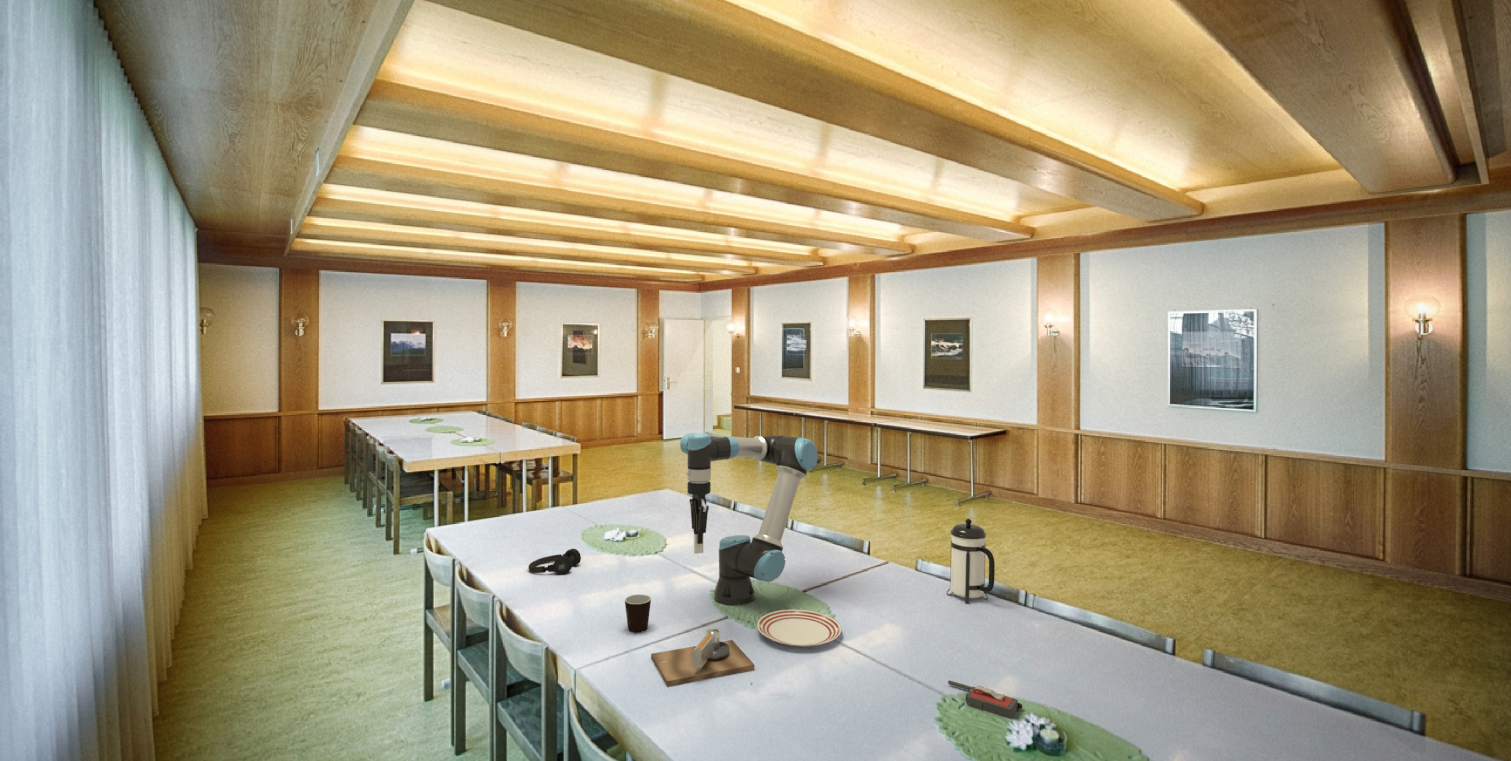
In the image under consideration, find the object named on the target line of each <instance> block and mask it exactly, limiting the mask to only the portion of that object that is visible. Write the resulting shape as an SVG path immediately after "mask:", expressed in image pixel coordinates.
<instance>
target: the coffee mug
mask: <svg viewBox="0 0 1511 761" xmlns="http://www.w3.org/2000/svg"><path fill="white" fill-rule="evenodd" d="M651 602H652V597H651V596H649V595H647V594H633V595H629V596H627V597H625V598H624V605H625V614H626V623H627V631H628V632H630V633H632V634H633V633H634V634H639V633H644V632H646V631H647V630H648V627H649V618H650V610H651V604H652V603H651Z"/></svg>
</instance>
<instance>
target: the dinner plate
mask: <svg viewBox="0 0 1511 761" xmlns="http://www.w3.org/2000/svg"><path fill="white" fill-rule="evenodd" d="M756 628H757V629H758V631H759V633H760V634H762V635H763V636H764V637H765V638H767V639H768V640H770V641H773V642H774V643H775V642H776V643H778V644H781V645H786V646H790V647H796V648H798V647H800V648H804V647H814V646H820V645H824V644H827V643H830V642H833V641H835V640H836V639H838V638H839V637H840V635H841V633H842V627H841V625H840V623H838V621H836V620H835V619H834V618H833V617H831V616H829V615H826V614H823V613H820V612H817V611H811V610H808V609H807V610H804V609H781V610H777V611H772V612H769V613H767V614H765V615H763V616H762V617H760V618H759V620H758V621H757V624H756Z"/></svg>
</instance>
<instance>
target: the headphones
mask: <svg viewBox="0 0 1511 761" xmlns="http://www.w3.org/2000/svg"><path fill="white" fill-rule="evenodd" d="M581 561H582V556H581V553H580V551H579V550H578V549H576V548H571V549H568V550H566V551H565V553H563V554H561V553H560V554H555V555H554V554H553V555H548V556H544V557H541V558H538V559H536V560H534V561H532V562H530V563H529V565H528V570H529V571H528V572H530V574H544V573H546V572H547V573H553V572H554V573H555V574H557V575H559V576H560V575H561V576H562V575H563V576H564V575H566V574H569V572H570V571H571V569H572V568H573V567H576V566H577V565H579V564H581ZM551 562H552V563H553V564H548V565H547V566H546V565H544V564H547V563H551ZM540 565H541V566H540Z"/></svg>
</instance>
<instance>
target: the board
mask: <svg viewBox="0 0 1511 761" xmlns="http://www.w3.org/2000/svg"><path fill="white" fill-rule="evenodd" d="M721 642H724V643H726V644H727V645H728V646H729V655H728V656H727V657H726V658H724V659H721V660H715V661H708V660H707V662H706V663H705V664H704V666H703V667H702V668H696V667H693V650H694V648H695V647H696V646H697V645H694V646H689V647H683V648H677V649H672V650H665V651H660V652H654V653H651V654H650V657H651V658H650V659H651V660H652V662H653V665H655V667H656V670H657V671H658V673H659V675H660V677H661V678H662V680H663V681H664V684H665V685H666V687H672V686H677V685H682V684H688V683H693V682H697V681H703V680H709V679H713V678H718V677H724V676H725V677H726V676H730V675H734V674H739V673H744V672H750V671H754V670H755V663H754V662H753V661H752V660H751V659H750V658H749V657H748V656H747V654H746V653H745V652H744V651H743V650H742V649H741V648H740V647H739V645H738V644H737V643H736V642H735V641H734V640H733V639H729V640H723V641H721Z"/></svg>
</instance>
